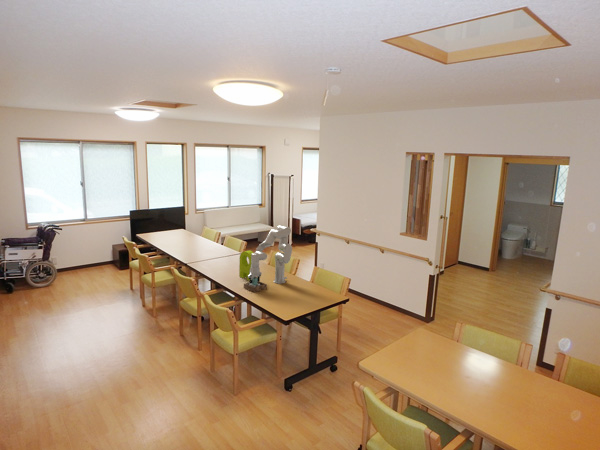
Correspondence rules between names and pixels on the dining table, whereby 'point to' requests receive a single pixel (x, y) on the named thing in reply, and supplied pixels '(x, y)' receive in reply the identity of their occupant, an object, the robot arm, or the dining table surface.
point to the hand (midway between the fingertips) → (254, 282)
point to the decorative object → (245, 264)
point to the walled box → (255, 288)
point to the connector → (254, 281)
